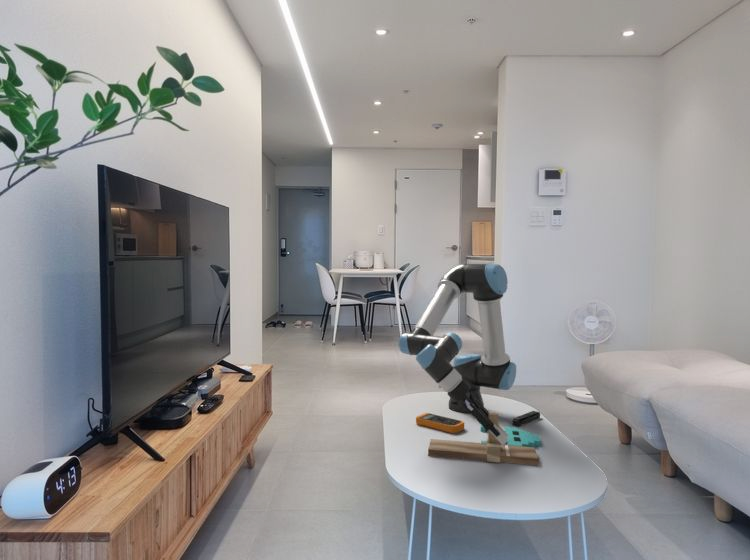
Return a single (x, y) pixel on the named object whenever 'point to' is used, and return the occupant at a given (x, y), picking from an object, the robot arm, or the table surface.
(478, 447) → the walnut board
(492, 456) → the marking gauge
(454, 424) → the multimeter
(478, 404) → the robot arm
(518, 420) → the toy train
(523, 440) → the alien figure
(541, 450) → the table surface
